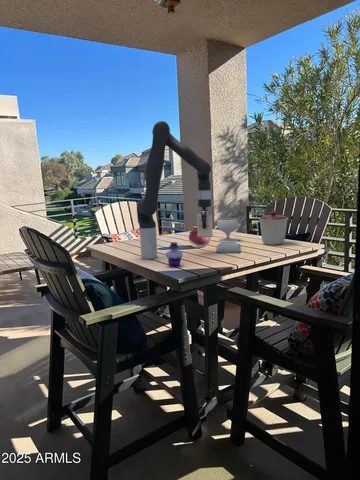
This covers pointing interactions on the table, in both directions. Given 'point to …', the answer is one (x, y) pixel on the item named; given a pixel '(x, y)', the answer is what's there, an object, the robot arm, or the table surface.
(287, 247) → the table surface
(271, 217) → the canister
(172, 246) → the potion bottle
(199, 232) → the supplement box
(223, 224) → the chalice
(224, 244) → the grey pedestal stand
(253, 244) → the table surface
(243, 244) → the table surface
